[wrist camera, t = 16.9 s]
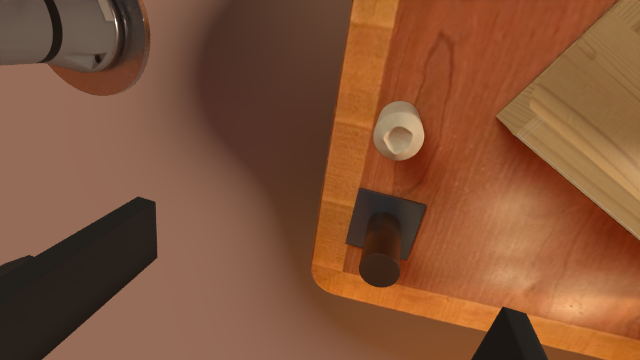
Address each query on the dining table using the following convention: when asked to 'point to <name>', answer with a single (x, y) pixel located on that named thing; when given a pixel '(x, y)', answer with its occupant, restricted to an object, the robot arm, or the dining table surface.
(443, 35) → the dining table surface
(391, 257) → the dark brown cylinder
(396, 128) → the candle
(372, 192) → the coaster
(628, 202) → the skate ramp
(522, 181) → the dining table surface
